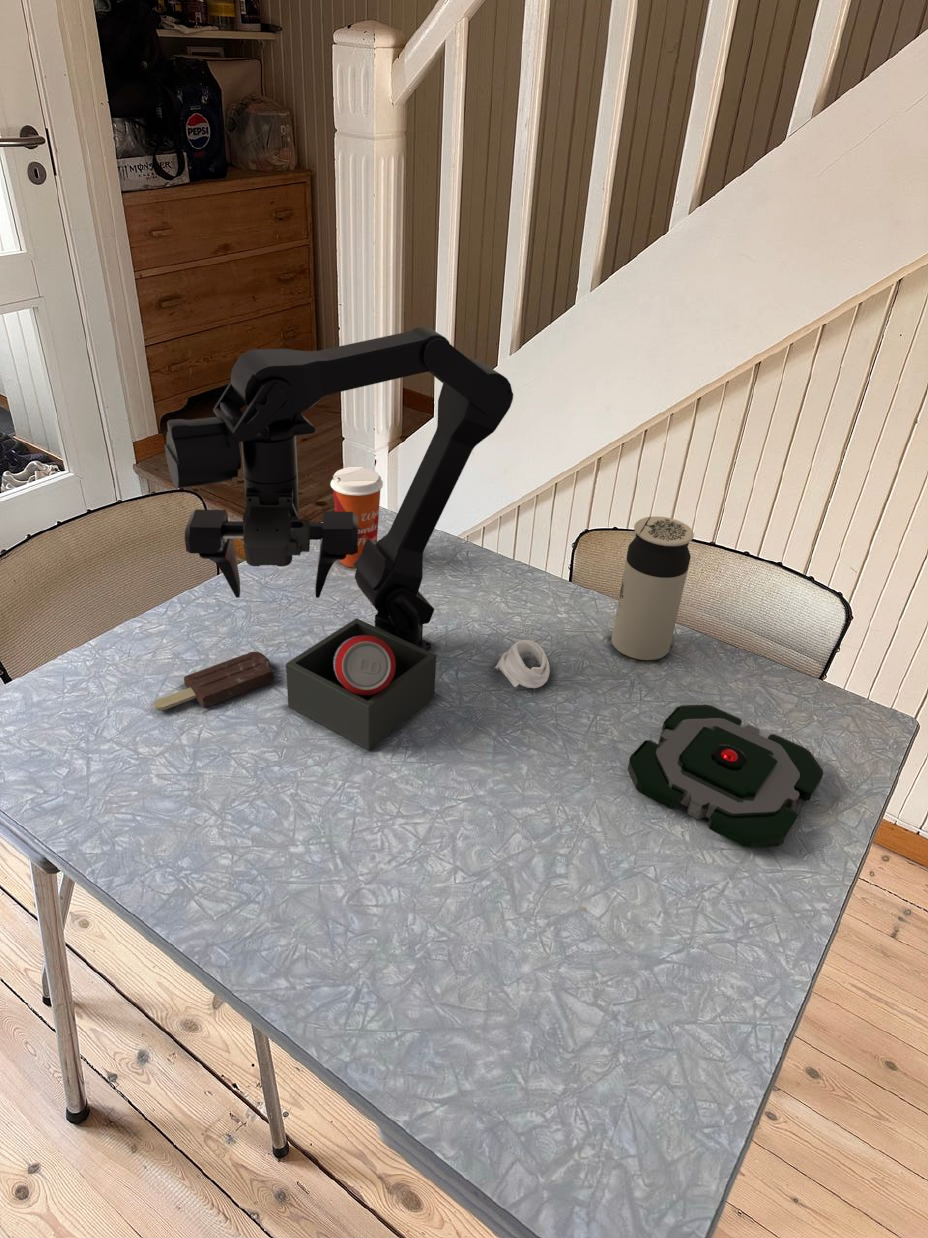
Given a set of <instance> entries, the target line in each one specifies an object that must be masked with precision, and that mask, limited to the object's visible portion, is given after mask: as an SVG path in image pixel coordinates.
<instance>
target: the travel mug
mask: <svg viewBox="0 0 928 1238" xmlns="http://www.w3.org/2000/svg"><path fill="white" fill-rule="evenodd" d="M633 529H634V533H635V537H634V538H633V539H632V541H631V542H630V543H629V544H628V549H627V552H626V558H625V562H624V563H625V564H624V567H623V573H622V574H623V575H622V580H621V584H620V591H619V595H618V601H617V607H616V612H615V618H614V623H613V628H612V634H611V643H612V645H613V647H614V648H615V649H616V650H617V651H618V652H620V653H621V654H623V655H625V656H627V657H630V658H632V659H636V660H640V661H641V660H642V661H653V660H659V659H661V658H663V657H665V656H666V655H668V653H669V652H670V649H671V644H672V639H673V636H674V631H675V627H676V622H677V618H678V614H679V609H680V605H681V601H682V597H683V592H684V588H685V583H686V580H687V575H688V570H689V567H690V562H691V557H692V556H691V553H690V549H689V544H690V542H692V541H693V539H694V537H695V536H694V535H695V534H694V531H693V530H692V528H691V527H690V526H689V525H687V524H686V523H684V522H683V521H680V520H678V519H675V518H673V517H672V518H671V517H665V516H658V515H657V516H656V515H655V516H653V515H652V516H646V517H642V518H640V519H638V520H637V521H636V522H635V523H634V526H633Z"/></svg>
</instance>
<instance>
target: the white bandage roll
mask: <svg viewBox="0 0 928 1238" xmlns="http://www.w3.org/2000/svg"><path fill="white" fill-rule="evenodd" d="M528 656H533V657H534V658H535V659H536V661H537V663H538V664H539V667H537V666H533V667H531V668H529V667H527V665H526V664H525V662H524V661H523V659H524V658H526V657H528ZM497 670H498V671H499V670H500V671H501V673H502V674H503V675H504V676H505V677H506V679H507V680H508V681H509V682H510V684H511V685H512V686H513V687H514V688H516V687H518V686H519V685H521V686H522V687H524V688H528V689H537V688H540V687H542V686H544V685H545V684H547V682H548V680H549V677H550V673H551V672H550V671H551V670H550V662H549V659H548V657H547V655H546V652H545V651H544V649H543V647H541V646H540V645H539V643H536V642H535V641H532V640H529V639H522V640H518V641H516V642H515V643H513V645H511V646H510V648H509V649H508V651H506V652H504V653H502V655H501V656H500V659H499V661H498V662H497V664H496V665H495V667H493V668H492V672H493V673H495V672H496V671H497Z"/></svg>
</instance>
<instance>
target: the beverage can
mask: <svg viewBox="0 0 928 1238" xmlns="http://www.w3.org/2000/svg"><path fill="white" fill-rule="evenodd" d="M395 668H396V663H395V657H394V654H393V652H392V650H391V648H390V647H389V646H388V645H387V644H386V643H385V642H384V641H382V640H381V639H379V638H377V637H374V636H368V635H361V636H355V637H352V638H349V639H347V640H346V641H344V642H343V643H342V644H341V645H340V646H339V647H338V649H337V650H336V652H335V655H334V658H333V669H334V673H335V675H336V677H337V679H338V680H339V682H340V683H341V684H342V685H343V686H344V687H345V688H346V689H348V690H349V691H351V692H353V693H355V694H358V695H372V694H376V693H378V692H380V691H382V690H383V689H384V688H386V687H387V686H388V685H389V683H390V682H391V680H392V678H393V676H394V673H395Z"/></svg>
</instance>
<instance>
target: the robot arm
mask: <svg viewBox="0 0 928 1238" xmlns="http://www.w3.org/2000/svg"><path fill="white" fill-rule="evenodd" d="M423 373H429V374H430V375H432V376H433V377H434V378H435V379H437V380H438V381H439V382H440V383H442V387H441V389H440V392H439V396H438V400H437V424H436V430H435V432H434V434H433V437H432V439H431V440H430V443H429V445H428V447H427V449H426V451H425V454H424V456H423V457H422V460H421V462H420V464H419V466H418V468H417V471H416V473H415V475H414V477H413V479H412V482H411V484H410V486H409V487H408V490H407V492H406V494H405V497H404V499H403V501H402V503H401V505H400V507H399V508H398V511H397V513H396V516H395V518H394V520H393V522H392V524H391V527H390V529H389V531H388V532H387V533H386V535H384V536H383V537H381V538H380V539H379V540H377V542H374V541H372V540H370V539H367V540H366V542H365V543H364V546H363V550H362V553H361V555H360V557H359V559H358V560H357V561H356V562H355V563H354V566H355V569H356V570H355V572H354V580H355V582H356V585H357V587H358V588H359V589H360V591H361V593H363V594H364V596H365V597H366V598H367V600H368V601H369V603H370V604H371V605H372V606H373V607H374V609H375V610H376V612H377V613H376V614H374V626H375V627H377V628H379V629H381V630H383V631H386V632H388V633H390V634H392V635H394V636H396V637H399V638H401V639H403V640H405V641H407V642H409V643H411V644H414V645H416V646H418V647H420V648H422V649H424V650H427V651H429V650H430V649H432V642H430V641H428V640H425V639H423V636H424V635H423V629H424V625H426V624H429V623H430V622H431V620H432V617H433V615H434V612H435V608H434V606H433V605H431V603H430V602H429V601H428V600H427V599H426V598H425V596H424V595H423V594H422V593H421V592H420V588H421V584H422V581H423V575H424V574H423V573H424V572H423V571H424V552H425V549H426V547H427V545H428V543H429V541H430V539H431V536H432V534H433V532H434V530H435V528H436V526H437V524H438V522H439V520H440V518H441V517H442V514H443V512H444V510H445V508H446V505H447V503H448V502H449V500H450V498H451V496H452V493H453V491H454V489H455V488H456V485H457V483H458V481H459V479H460V477H461V475H462V472H463V471H464V468H465V466H466V464H467V462H468V461H469V459H470V456H471V454H472V452H473V450H474V449H475V447H477V445H479V444H480V443H481V442H482V441H484V440H485V439H487V438H488V437H489V436H490V435H492V434H493V433H494V432H495V431H496V430H497V429H498V427H499V426H500V424H501V422H502V421H503V419H504V418H505V417H506V415H507V413H508V412H509V410H510V408H511V407H512V404H513V401H514V392H513V389H512V384H511V383H510V381H509V380H508V378H507V377H506V376H504V375H503V374H501V373H500V372H498V371H497V370H495V369H494V368H492V367H490V366H489V365H487V364H485V363H483V362H481V360H478V359H476V358H472V357H467V356H466V355H465V354H463V353H462V352H460V351H459V350H458V349H457V348H455V347H454V346H453V345H452V344H451V343H450V341H449V340H448V338H446V337H445V336H443V335H442V334H440V333H439V332H437V331H435V330H434V329H432V328H430V327H428V326H418V327H415V328H412V329H411V330H409V331H404V332H400V333H394V334H391V335H386V336H381V337H376V338H371V339H366V340H362V341H358V342H353V343H349V344H348V343H347V344H343V345H339V346H335V347H329V348H324V349H320V350H299V349H298V350H297V349H289V348H265V349H264V348H260V349H259V348H258V349H251V350H248V351H245V352H243V353H242V354H240V355H239V356H238V358H237V360H236V361H235V363H234V365H233V366H232V369H231V373H230V381H229V383H228V385H227V387H226V388H225V389H224V391H223V392H222V394H221V396H220V397H219V398H218V401H217V402H216V403H215V405H214V407H213V408H212V411H213V413H214V414H215V415H216V416H213V417H202V418H195V419H193V418H192V419H184V418H176V419H168V421H166V425H167V432H166V440H165V442H166V444H164V450H165V451H164V452H165V458H166V463H167V467H168V471H169V472H168V473H169V475H170V478H171V482H172V484H173V486H174V488H175V489H177V490H178V489H183V488H184V489H185V488H190V487H191V488H192V487H198V486H204V485H211V484H218V483H219V484H220V483H226V482H231V481H233V478H238V477H239V471H240V470H241V469H242V471H243V483H244V493H245V494H244V497H245V508H244V511H243V515H242V520H241V521H240V520H239V521H238V520H237V521H233V520H232V521H231V520H229V514H228V511H227V509H199V508H198V509H194V511H192V513H191V514H190V515H189V518H188V521H187V523H186V526H185V530H184V544H185V552H187V553H189V554H198V555H199V558H201V559H202V560H203V559H204V560H209V561H212V562H214V563H215V564H216V565H217V567H218V568H219V570H220V571H221V572H222V573H221V574H222V575H223V576H224V578H225V580H226V582H227V584H228V585H229V588H230V589H231V592H232V593H233V595H234V597H235V598H237V599H238V598H239V599H240V597H241V579H240V573H239V565H238V560H237V555H236V554H237V553H236V548H235V541H234V540H242V544H243V550H244V556H245V561H246V564H248V566H251V567H260V566H277V567H282V568H283V567H287V566H289V565H290V564H292V561H293V556H301V553H309V552H310V549H311V541H315V540H316V541H320V544H319V553H318V561H317V568H316V569H317V570H316V576H315V577H316V578H315V588H314V589H315V598H316V599H319V598H321V597H320V596H321V595H322V591H323V590H324V585H325V583H326V580H327V577H328V575H329V572H330V570H331V569H332V566H333V565H334V563H335V562H337V561H340V560H343V559H345V558H346V555H353V554H356V553H358V517H357V516H356V515H355V513H354V512H336V511H335V510H334V511H329V510H325V511H323V515H322V522H321V521H320V522H315V521H314V522H313V521H312V522H311V521H309V519H306V518H305V519H302V518H300V499H299V476H298V475H299V474H298V452H297V436H303V435H312V434H315V432H316V427H315V426H314V424H312V423H311V421H309V420H308V419H307V418H306V417H305V416H304V415H303V414H302V413H304V412H305V411H308V410H310V409H312V407H314V406H315V405H316V404H318V403H319V402H320V401H321V400H322V399H324V398H326V397H329V396H331V395H333V394H338V393H342V392H346V391H350V390H355V389H359V388H363V387H367V386H371V385H377V384H380V383H384V382H389V381H393V380H397V379H401V378H402V379H403V378H406V377H411V376H414V375H419V374H423ZM245 406H246V409H245V411H244V412H243V411H242V410H241V409H242V408H244V407H245ZM240 445H241V448H240Z"/></svg>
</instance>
